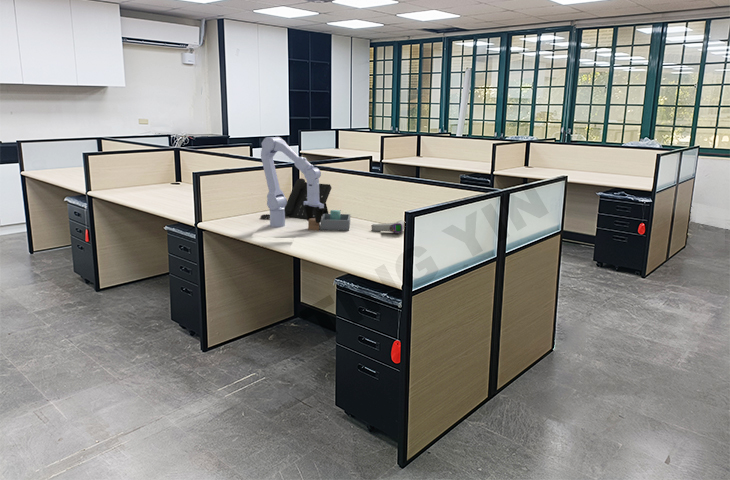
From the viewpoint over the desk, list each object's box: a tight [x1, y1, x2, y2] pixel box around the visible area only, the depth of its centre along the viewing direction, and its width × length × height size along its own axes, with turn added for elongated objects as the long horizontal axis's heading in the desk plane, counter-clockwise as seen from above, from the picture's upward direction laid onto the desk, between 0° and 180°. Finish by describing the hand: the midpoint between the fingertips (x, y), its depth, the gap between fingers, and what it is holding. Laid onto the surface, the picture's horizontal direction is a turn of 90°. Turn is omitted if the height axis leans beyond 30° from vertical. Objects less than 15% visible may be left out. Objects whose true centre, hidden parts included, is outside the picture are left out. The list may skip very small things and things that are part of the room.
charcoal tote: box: [320, 213, 351, 232], centre depth 269 cm, size 18×14×5 cm
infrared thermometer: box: [371, 220, 405, 234], centre depth 264 cm, size 5×12×15 cm
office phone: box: [260, 177, 332, 220], centre depth 294 cm, size 29×28×20 cm
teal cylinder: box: [329, 209, 341, 220], centre depth 271 cm, size 5×5×7 cm
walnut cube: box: [307, 218, 321, 231], centre depth 263 cm, size 5×5×5 cm
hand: (313, 221), depth 263 cm, fingers closed on walnut cube, 7 cm apart
